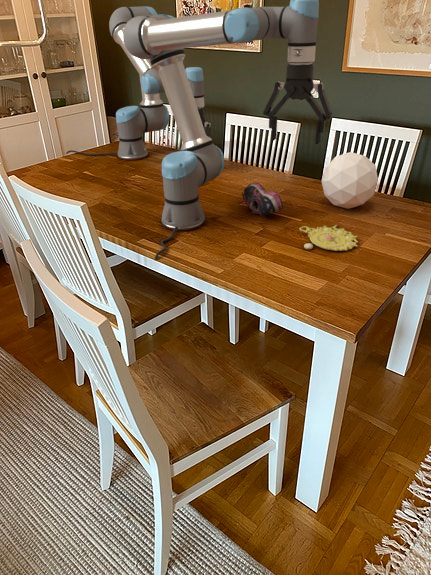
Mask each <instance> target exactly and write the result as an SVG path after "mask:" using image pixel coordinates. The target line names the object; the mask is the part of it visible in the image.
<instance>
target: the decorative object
mask: <svg viewBox="0 0 431 575" xmlns="http://www.w3.org/2000/svg"><path fill="white" fill-rule="evenodd" d="M303 228H304V229H305V230H304V229H303ZM299 231H300V232H303V233H305V234H307V237H308V238H309V240H310V241H311V243H304V244H303V248H304V249H305V250H313V249H314V245H315V246H316V247H318V248H321V249H324V250H328V251H335V252H341V251H348V250H352V249H354V247H356V248H358V247H359V245H358V244H357V243H359V240H357V238H359V237H358V235H353V234H352V231H347V230H346V229H345V228H344V227H342V228H338V224H335V225H333V226H331V227H328V226H327V225H326V224H325V225H323V226H322V227H321V226H317V227H316V228H314V227H309V226H308V225H302V226H300V227H299ZM313 244H314V245H313Z"/></svg>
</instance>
